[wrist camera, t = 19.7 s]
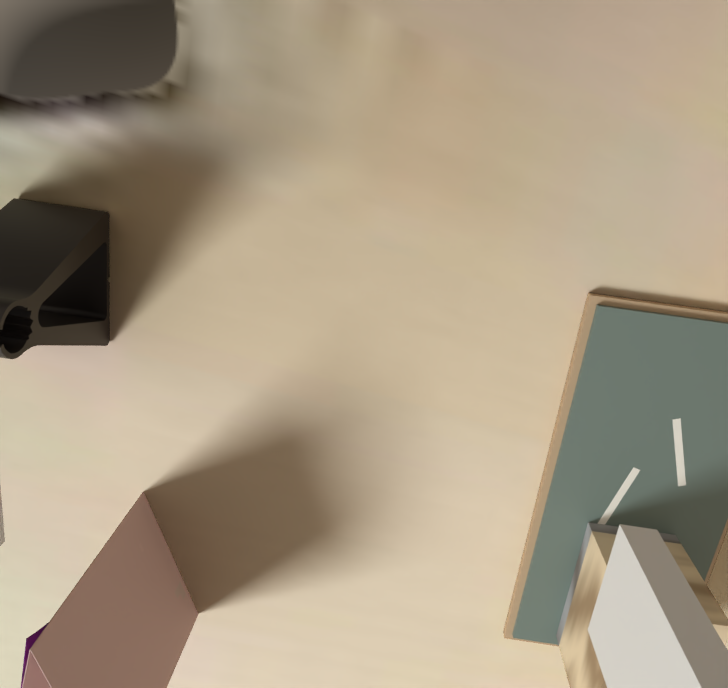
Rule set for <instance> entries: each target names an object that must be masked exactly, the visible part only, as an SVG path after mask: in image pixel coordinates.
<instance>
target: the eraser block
mask: <svg viewBox="0 0 728 688" xmlns="http://www.w3.org/2000/svg"><path fill="white" fill-rule="evenodd" d="M618 528H619V527H617V526H610V525H603V524H596V523H590V522H588V524H587V528H586V531H585V535H584V539H583V542H582V546H581V549H580V553H579V556H578V560H577V563H576V567H575V570H574V574H573V577H572V581H571V584H570V588H569V592H568V595H567V599H566V602H565V606H564V609H563V613H562V616H561V620H560V623H559V627H558V630H557V634H556V637H557V641H558V645H559V648H560V652H561V656H562V659H563V663H564V667H565V670H566V674H567V678H568V681H569V685H570V688H607V686H606V683H605V680H604V677H603V674H602V671H601V668H600V665H599V662H598V659H597V656H596V653H595V650H594V647H593V644H592V641H591V638H590V635H589V632H588V627H589V624H590V620H591V617H592V614H593V610H594V607H595V604H596V600H597V597H598V594H599V591H600V587H601V584H602V581H603V577H604V574H605V571H606V568H607V564H608V561H609V558H610V554H611V551H612V548H613V544H614V541H615V538H616V535H617V531H618ZM659 534H660V535H661V537H662V539H663V541H664V542H665V544H666V546H667V547H668V549H669V551H670V553H671V554H672V556H673V558H674V559H675V561H676V563H677V565H678V566H679V568H680V570H681V571H682V573H683V575H684V577H685V578H686V580H687V582H688V583H689V585H690V587H691V589H692V590H693V592H694V594H695V595H696V597H697V599H698V601H699V602H700V604H701V606H702V607H703V609H704V611H705V613H706V614H707V616H708V618H709V619H710V621H711V623H712V624H713V626H714V628H715V630H716V631H717V633H718V635H719V636H720V638H721V640H722V642H723V643H724V645H726V643H727V640H728V619H727V617H726V615H725V614H724V612H723V611H722V609H721V607H720V606H719V604H718V603H717V601H716V599H715V598H714V596H713V595H712V593H711V591H710V590H709V588H708V586H707V585H706V583H705V582H704V580H703V578H702V577H701V575H700V574H699V572H698V570H697V569H696V567H695V566H694V564H693V562H692V561H691V559H690V557H689V556H688V554H687V553H686V551H685V549H684V548H683V546H682V545H681V543H680V541H679V540H678V538H677V537H676V535H672V534H666V533H659Z"/></svg>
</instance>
